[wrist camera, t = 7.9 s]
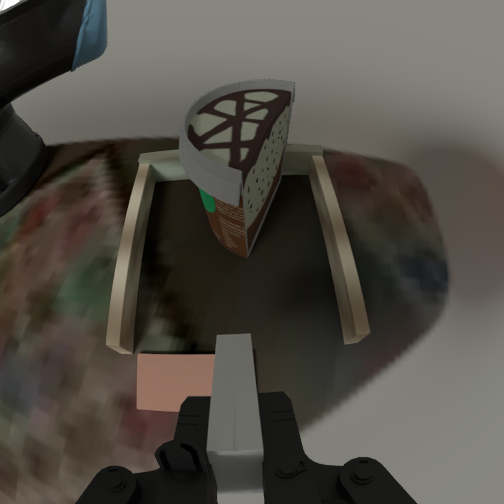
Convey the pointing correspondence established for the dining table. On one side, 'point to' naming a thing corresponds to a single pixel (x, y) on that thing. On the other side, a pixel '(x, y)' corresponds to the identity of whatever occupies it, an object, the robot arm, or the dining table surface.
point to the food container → (237, 155)
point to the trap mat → (172, 379)
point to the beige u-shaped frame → (170, 168)
